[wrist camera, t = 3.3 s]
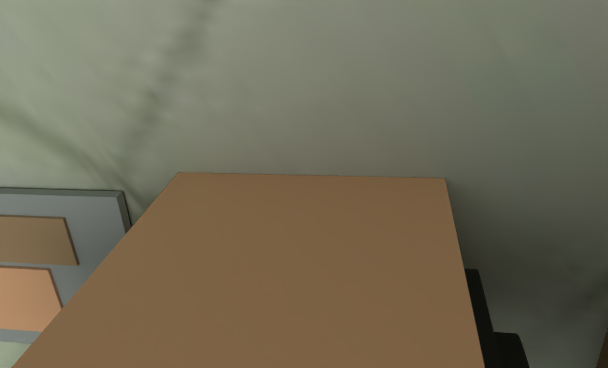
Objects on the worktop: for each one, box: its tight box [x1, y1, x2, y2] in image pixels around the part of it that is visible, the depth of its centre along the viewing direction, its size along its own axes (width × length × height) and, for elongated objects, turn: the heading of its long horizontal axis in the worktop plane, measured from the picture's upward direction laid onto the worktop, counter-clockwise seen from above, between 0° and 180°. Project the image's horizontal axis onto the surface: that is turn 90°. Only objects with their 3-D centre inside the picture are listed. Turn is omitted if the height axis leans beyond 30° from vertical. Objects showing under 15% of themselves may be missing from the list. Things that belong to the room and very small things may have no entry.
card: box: [0, 188, 131, 344], centre depth 14 cm, size 7×5×1 cm
